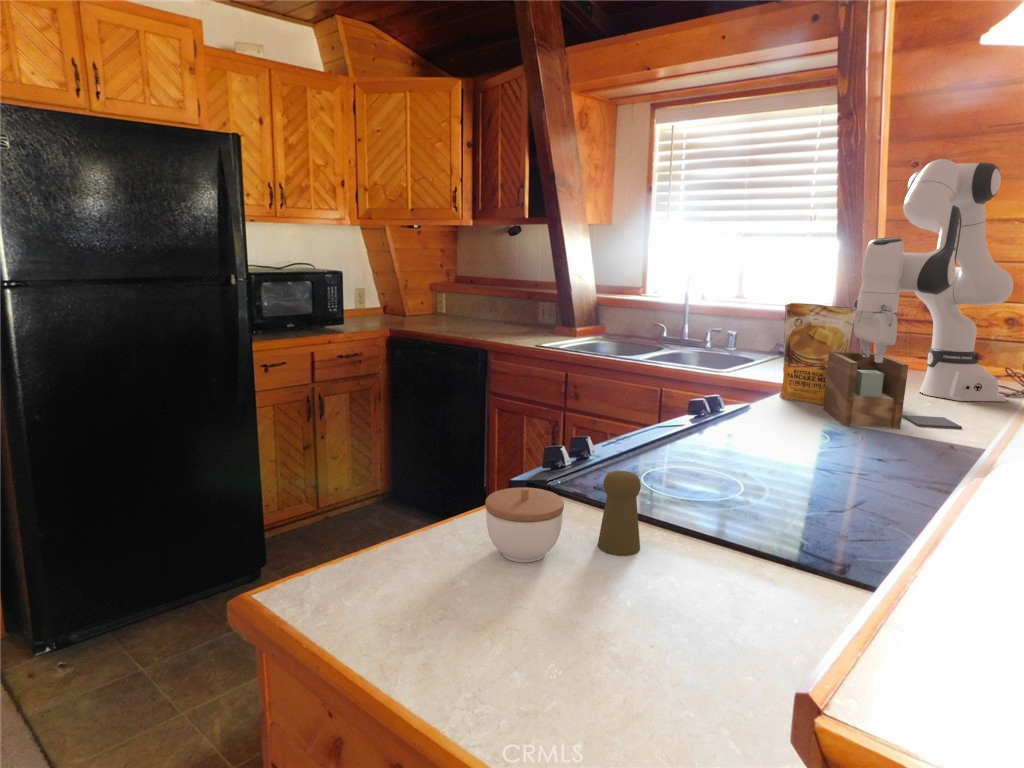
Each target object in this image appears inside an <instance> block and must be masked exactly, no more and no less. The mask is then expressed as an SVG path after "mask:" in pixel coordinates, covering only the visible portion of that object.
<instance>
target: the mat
mask: <svg viewBox="0 0 1024 768" xmlns="http://www.w3.org/2000/svg"><path fill="white" fill-rule="evenodd" d="M902 418H903V419H905V420H907V421H908V422H910V423H911V424H913V425H915V426H916V427H920V428H921V427H922V428H937V429H956V430H957V429H958V430H962V429H963V426H962V425H959V424H958V423H956V422H954V421H952V420H951V419H948V418H946V417H943V416H931V415H930V416H929V415H928V416H927V415H906V414H902Z"/></svg>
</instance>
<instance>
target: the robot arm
mask: <svg viewBox="0 0 1024 768" xmlns="http://www.w3.org/2000/svg"><path fill="white" fill-rule="evenodd" d="M1001 182H1002V177H1001V172H1000V168H999V167H998V166H997V165H996V163H992V162H991V163H990V162H981V161H980V162H979V163H976V162H975V163H974V162H973V163H969V162H968V163H967V162H966V163H957V162H954V161H952V160H950V159H945V158H944V159H943V158H939V159H936V160H933V161H930V162H929V163H927V164H926V165H925V166H924V167H923V168H922V169H920V170H916V172H913V174H912V175H911V176H910V178H909V180H908V184H907V189H906V192H907V193H906V196H905V198H904V202H903V207H902V209H903V214H904V217H905V218H906V219H907V221H908V222H910V223H911V224H912V225H913V226H915V227H917V228H919V229H921V230H926V231H930V232H933V233H935V234H937V235H938V239H937V244H936V245H937V246H936V249H935V250H931V251H928V252H905V247H904V240H903V239H902V238H899V237H878V238H874V239H872V240H870V241H869V242H868V244H867V247H866V249H865V253H864V258H863V262H862V268H861V279H862V283H861V286H860V288H859V295H858V297H857V299H855V300H854V301H853V309H854V311H855V316H854V328H853V336H854V337H855V338H858V339H859V340H860V341H859V347H860V353H861V356H862V357H869V356H870V353H871V350H870V344H871V343H872V344H875V352H874V353H875V355H873V361H874V362H876V363H882V362H883V356H884V355H885V354H886V352H887V348H888V347H893V346H895V344H896V341H897V334H898V316H897V315H896V314H895V313H898V309H899V303H900V295H901V292H909V293H910V292H912V293H914V294H915V296H916V297H917V298H918V299H919V300H920V301H921V302H922V303H923V304H925V306H926V307H927V309H928V311H929V312H930V315H931V318H932V339H931V346H930V347H929V351H928V353H927V354H928V356H927V368H926V372H925V376H924V378H923V379H924V380H923V381H922V384H921V387H920V389H919V393H920V392H921V393H920V394H922V393H923V394H924V395H926V396H930V397H936V398H940V399H949V400H951V401H957V402H1007V397H1006V396H1005V395H1003V394H1001V393H999V381H998V379H997V378H996V377H995V376H994V375H993V374H992V373H990V371H988V370H987V369H985V367H983V366H982V365H981V364H979V363H980V362H979V361H982V362H985V361H986V360H987V359H988V355H987V354H986V353H979V352H977V351H975V346H976V339H977V332H978V328H977V327H978V326H977V324H976V323H975V322H974V321H973V320H972V319H971V318H969V317H968V316H965V315H964V314H962V312H961V310H960V306H959V305H966V306H967V305H969V306H970V305H971V306H981V307H982V306H992V305H1001V304H1003V303H1005V302H1006V301H1007V300H1009V298H1010V296H1011V295H1012V293H1013V290H1014V280H1013V277H1012V276H1011V274H1010V273H1009V272H1008V271H1007V270H1005V269H1004V268H1002V267H1001V266H999V265H998V264H997V263H996V262H995V261H994V259H993V258H992V256H991V254H990V252H989V249H988V246H987V236H986V235H987V233H986V225H987V224H986V223H987V218H986V217H987V216H986V215H987V214H986V213H987V212H986V209H987V208H986V202H989V201H991V200H992V199H994V198H995V197H996V195H997V194H998V192H999V189H1000V188H1001V187H1000V186H1001ZM956 262H957V263H958V265H959V266H956Z"/></svg>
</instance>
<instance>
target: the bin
mask: <svg viewBox="0 0 1024 768" xmlns="http://www.w3.org/2000/svg"><path fill="white" fill-rule="evenodd" d="M873 355H875V352H874V353H873V352H870V356H869V357H862V356H861V352H854V351H850V352H849V351H848V352H830V351H829V357H828V366H827V375H826V384H825V394H824V403H823V405H822V409H823V410H824V411H825V412H826V413H827V414H828V415H830V416H831V417H833V418H834V419H835V420H836V421H837V422H838V423H840V425H842V426H843V425H844V426H843V427H851V425H852V426H854V425H855V426H871V427H872V426H874V427H890V428H892V429H894V430H900V429H901V426H902V418H903V411H904V410H903V409H904V402H905V394H906V389H907V388H906V387H907V382H908V381H907V378H908V372H909V371H908V370H909V364H907V363H904V362H903V361H900V360H898V359H895V358H892V357H890V356H888V355H885V354H884V356H883V362H882V363H876V362H874V361H873ZM857 370H875V371H879V372H881V373H883V374H884V378H883V386H882V394H881V397H861V396H858V395H857V394H855V393H854V389H855V381H856V372H857Z"/></svg>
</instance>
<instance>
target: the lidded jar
mask: <svg viewBox="0 0 1024 768" xmlns="http://www.w3.org/2000/svg"><path fill="white" fill-rule="evenodd" d="M564 505H565V501H564V500H563V498H562V497H561V496H559V495H558V494H556V493H555V492H552V491H549V490H546V489H542V488H534V487H510V488H504V489H503V488H502V489H500V490H496V491H494V492H492V493H490V494H489V495H488V496H487V498H486V499H485V510H486V513H485V514H486V515H485V516H486V519H485V521H486V526H487V531H488V536H489V539H490V540H491V542H492V544H493V545H494V547H495V548H496V549H497V550H498V551H499V552H500V553H501V556H502V557H503V558H505V559H506V560H507V561H511V562H514V563H522V564H523V563H524V564H526V563H534V562H538V561H540V560H542V559H544V558H545V556H546V554H547V553H549V552H550V551H551V550H552V549H553V547H554V546H555V545H556V544H557V542H558V540H559V537H560V533H561V530H562V525H563V515H564V514H563V512H564V508H565V507H564Z"/></svg>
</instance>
